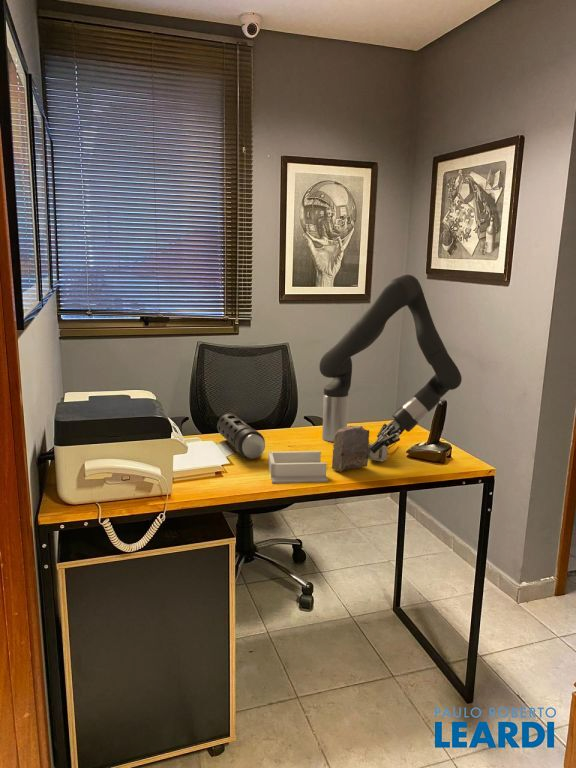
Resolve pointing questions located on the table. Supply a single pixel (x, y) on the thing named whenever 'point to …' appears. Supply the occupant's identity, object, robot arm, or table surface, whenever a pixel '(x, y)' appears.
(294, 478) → the open rectangular box
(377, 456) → the electrical component
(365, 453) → the geological specimen
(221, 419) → the muzzle brake
